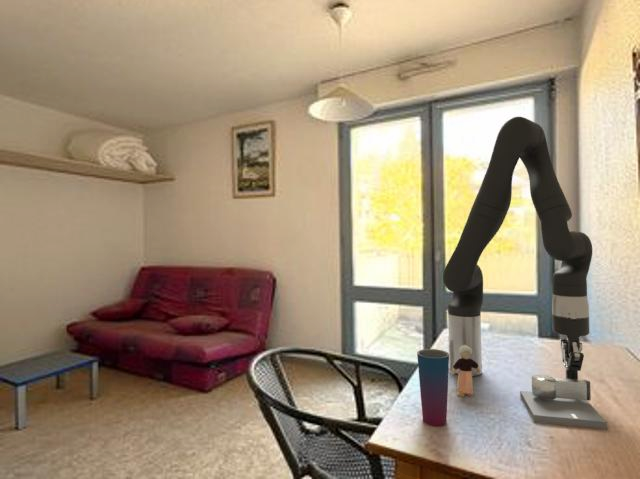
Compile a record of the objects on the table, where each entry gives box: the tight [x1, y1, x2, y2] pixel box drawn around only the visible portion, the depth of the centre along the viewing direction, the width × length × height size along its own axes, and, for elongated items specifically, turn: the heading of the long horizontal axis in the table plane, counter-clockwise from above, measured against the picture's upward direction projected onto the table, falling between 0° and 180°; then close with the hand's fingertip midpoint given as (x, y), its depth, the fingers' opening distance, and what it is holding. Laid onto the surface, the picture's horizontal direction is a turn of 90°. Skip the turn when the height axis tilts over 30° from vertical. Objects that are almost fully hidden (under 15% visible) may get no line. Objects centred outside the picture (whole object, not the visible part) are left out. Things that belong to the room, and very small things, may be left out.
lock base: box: [519, 390, 608, 430], centre depth 88 cm, size 14×14×2 cm
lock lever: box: [531, 374, 591, 401], centre depth 90 cm, size 12×5×4 cm, turn 73°
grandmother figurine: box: [450, 345, 480, 397], centre depth 99 cm, size 8×4×13 cm, turn 105°
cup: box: [416, 348, 450, 427], centre depth 85 cm, size 7×7×15 cm
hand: (572, 384), depth 93 cm, fingers closed
